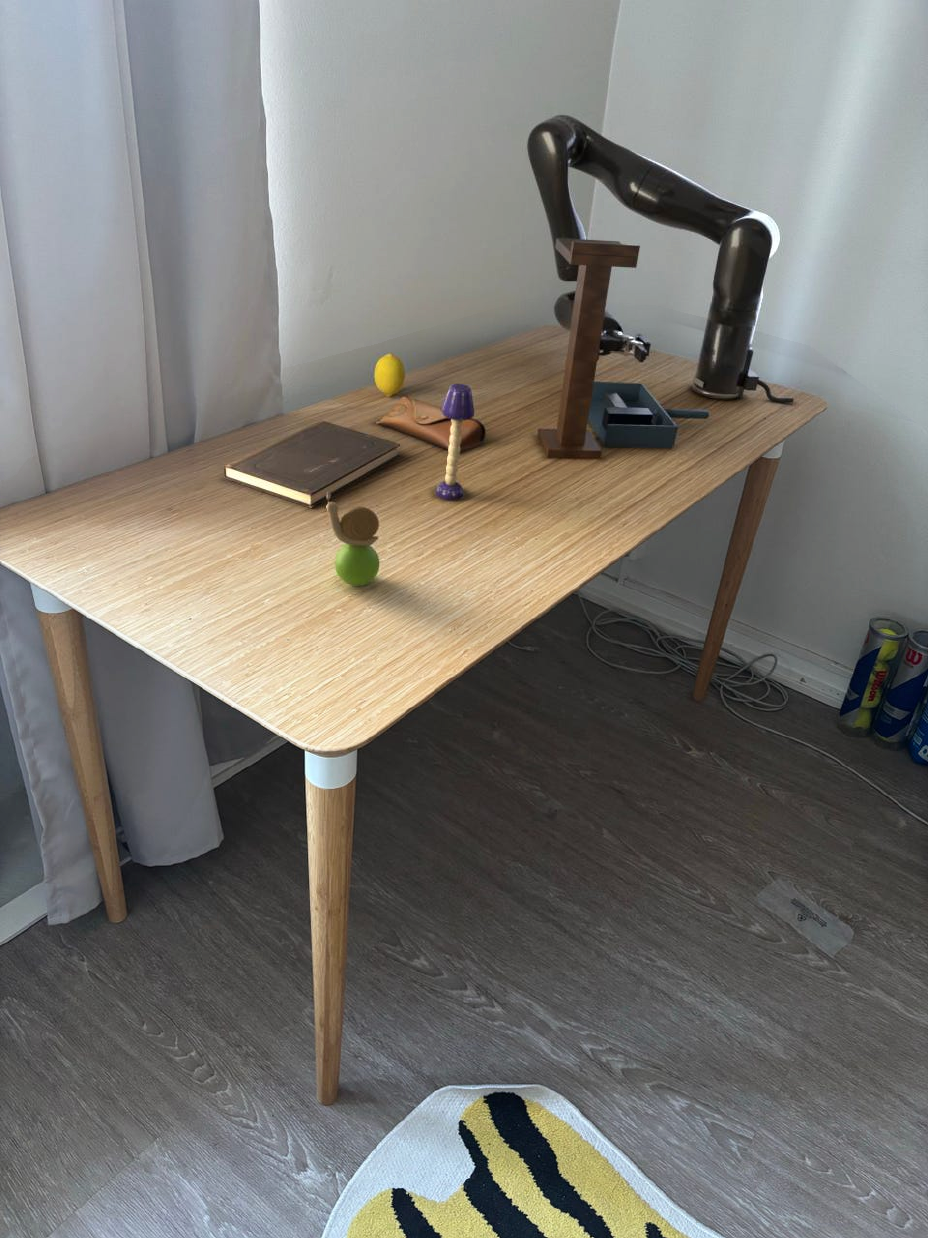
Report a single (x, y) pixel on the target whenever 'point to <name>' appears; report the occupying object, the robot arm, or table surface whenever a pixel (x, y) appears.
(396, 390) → the lemon
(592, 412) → the scoop
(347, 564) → the snail figurine
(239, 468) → the hardcover book
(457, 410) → the toy lamp
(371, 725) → the table surface
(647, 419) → the t-shaped mallet
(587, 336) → the stand
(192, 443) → the table surface
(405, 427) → the sunglasses case
